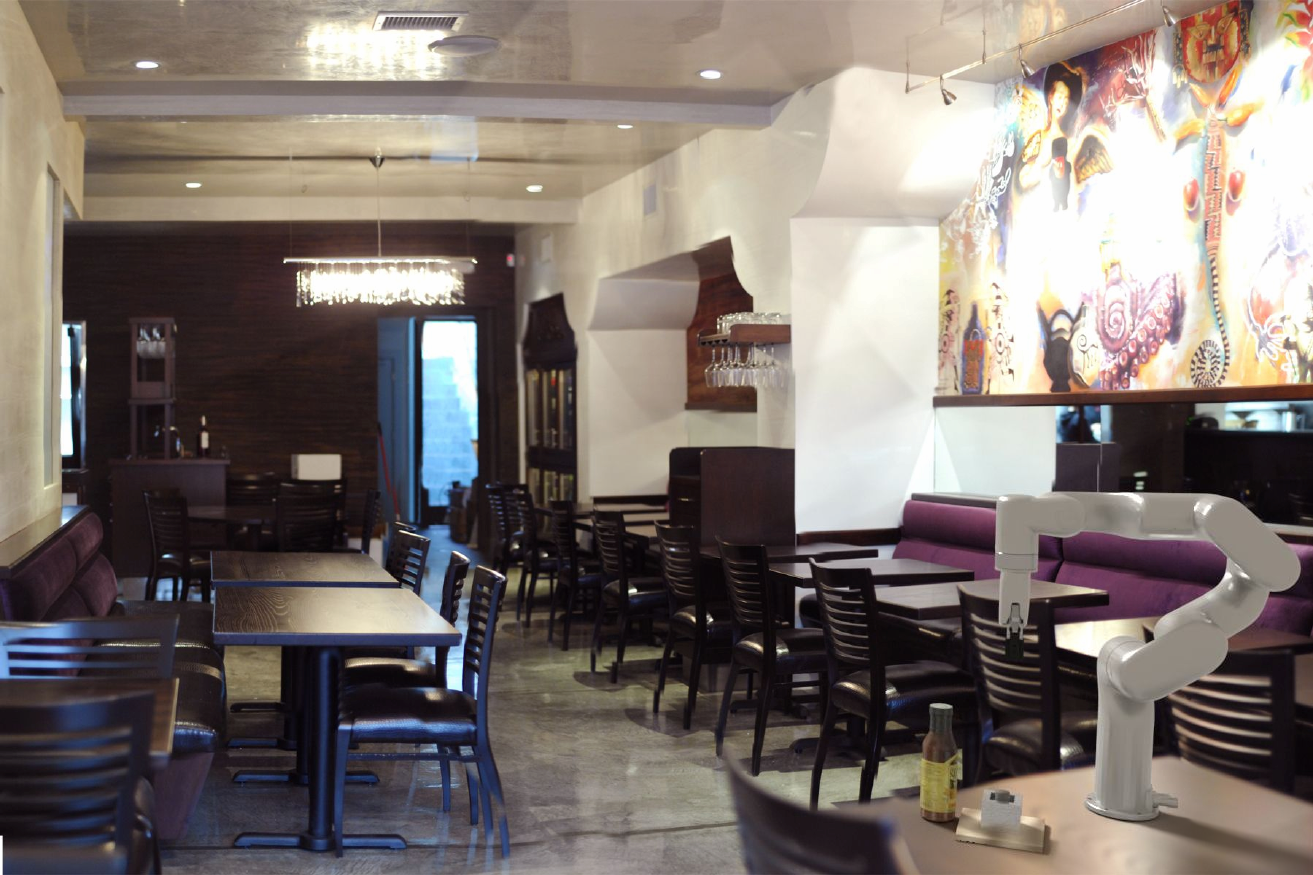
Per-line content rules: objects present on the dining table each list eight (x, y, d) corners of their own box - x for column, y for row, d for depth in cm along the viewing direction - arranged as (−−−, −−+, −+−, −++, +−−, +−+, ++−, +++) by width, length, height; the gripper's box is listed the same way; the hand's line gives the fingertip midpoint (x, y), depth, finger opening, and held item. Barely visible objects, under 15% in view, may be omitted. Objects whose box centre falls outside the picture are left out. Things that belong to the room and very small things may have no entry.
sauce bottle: (956, 825, 209) (961, 712, 208) (919, 821, 210) (924, 709, 210) (954, 812, 216) (959, 702, 215) (919, 809, 217) (923, 699, 216)
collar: (1021, 822, 209) (1022, 794, 208) (1019, 835, 203) (1021, 805, 202) (983, 817, 211) (984, 789, 210) (980, 829, 205) (981, 800, 204)
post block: (1044, 824, 211) (1046, 784, 211) (1042, 852, 198) (1044, 810, 197) (962, 812, 215) (964, 774, 215) (955, 839, 202) (956, 798, 202)
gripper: (995, 555, 229) (993, 644, 230) (994, 567, 213) (992, 663, 213) (1036, 557, 227) (1034, 647, 228) (1038, 570, 211) (1036, 667, 211)
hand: (1014, 655), depth 221 cm, fingers open, 9 cm apart
